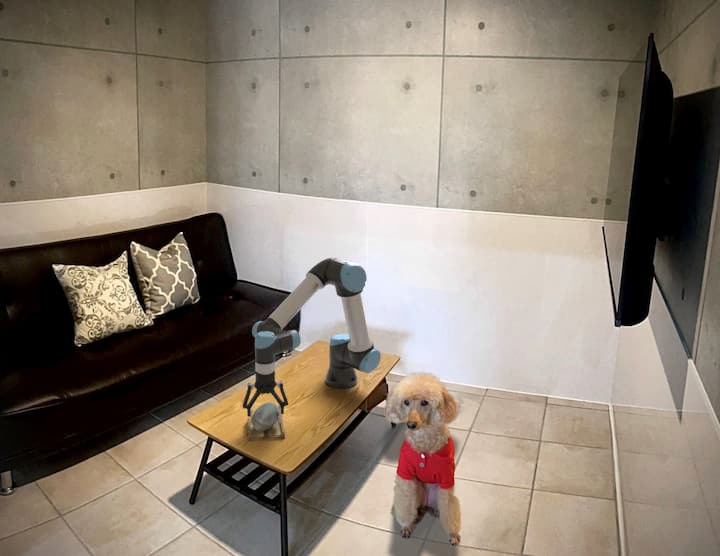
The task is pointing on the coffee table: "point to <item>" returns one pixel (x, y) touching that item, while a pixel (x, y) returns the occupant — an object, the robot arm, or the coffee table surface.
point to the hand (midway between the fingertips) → (265, 422)
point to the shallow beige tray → (266, 431)
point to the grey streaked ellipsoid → (265, 416)
